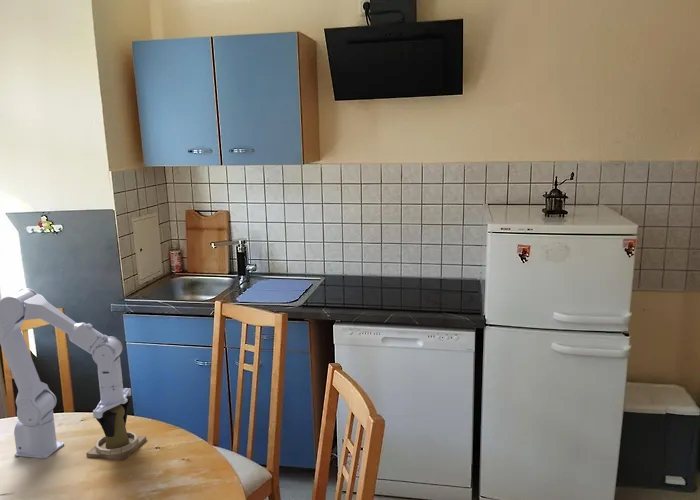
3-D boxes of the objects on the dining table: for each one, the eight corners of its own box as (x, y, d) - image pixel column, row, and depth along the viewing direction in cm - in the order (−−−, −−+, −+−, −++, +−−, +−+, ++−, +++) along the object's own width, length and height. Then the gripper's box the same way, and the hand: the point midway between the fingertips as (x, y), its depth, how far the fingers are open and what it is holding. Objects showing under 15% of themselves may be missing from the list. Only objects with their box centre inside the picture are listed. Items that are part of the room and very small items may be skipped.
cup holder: (86, 456, 157) (85, 449, 157) (110, 436, 168) (110, 429, 167) (124, 460, 155) (123, 452, 154) (146, 439, 165) (145, 432, 165)
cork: (122, 450, 158) (119, 412, 156) (101, 449, 158) (97, 411, 156) (133, 439, 164) (129, 402, 162) (112, 438, 164) (108, 401, 162)
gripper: (108, 396, 150) (113, 445, 152) (139, 374, 164) (143, 419, 166) (83, 394, 151) (89, 443, 154) (116, 372, 165) (120, 417, 168)
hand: (115, 431), depth 160 cm, fingers closed on cork, 5 cm apart
